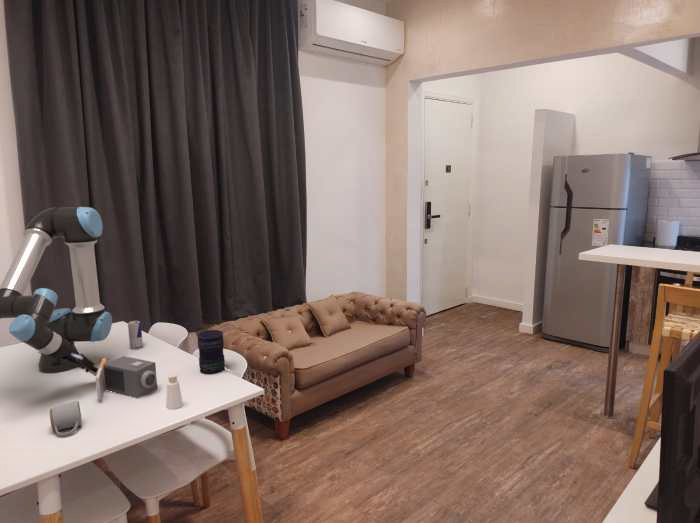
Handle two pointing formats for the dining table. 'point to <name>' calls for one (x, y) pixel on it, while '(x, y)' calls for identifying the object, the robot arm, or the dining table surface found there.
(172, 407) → the pepper shaker
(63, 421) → the ceramic mug
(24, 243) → the robot arm
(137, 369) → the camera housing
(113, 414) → the dining table surface
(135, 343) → the energy drink
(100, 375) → the side door
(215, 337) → the storage jar
